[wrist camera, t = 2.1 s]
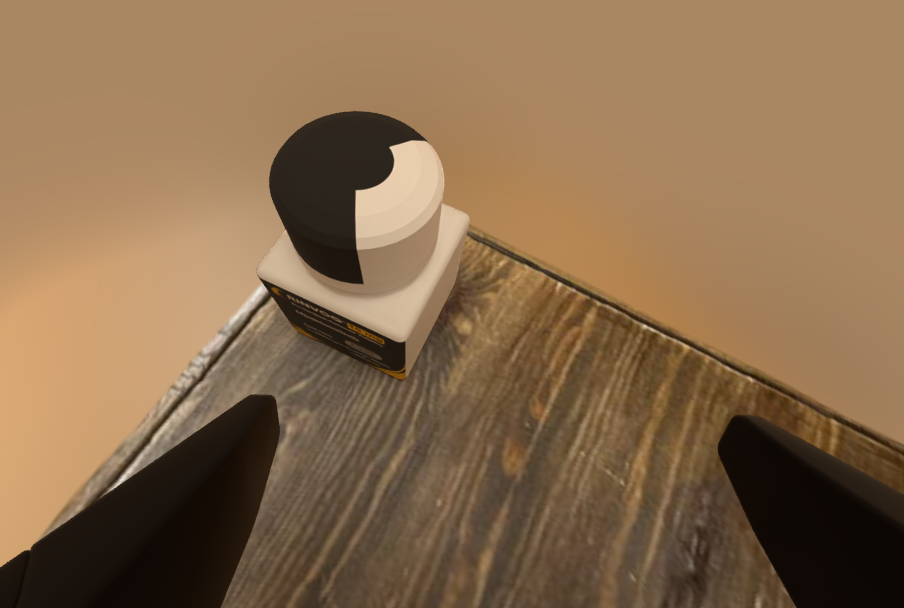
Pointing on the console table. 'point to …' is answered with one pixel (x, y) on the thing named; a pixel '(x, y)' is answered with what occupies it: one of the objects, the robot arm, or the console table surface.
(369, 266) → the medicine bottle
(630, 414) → the console table surface
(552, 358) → the console table surface
